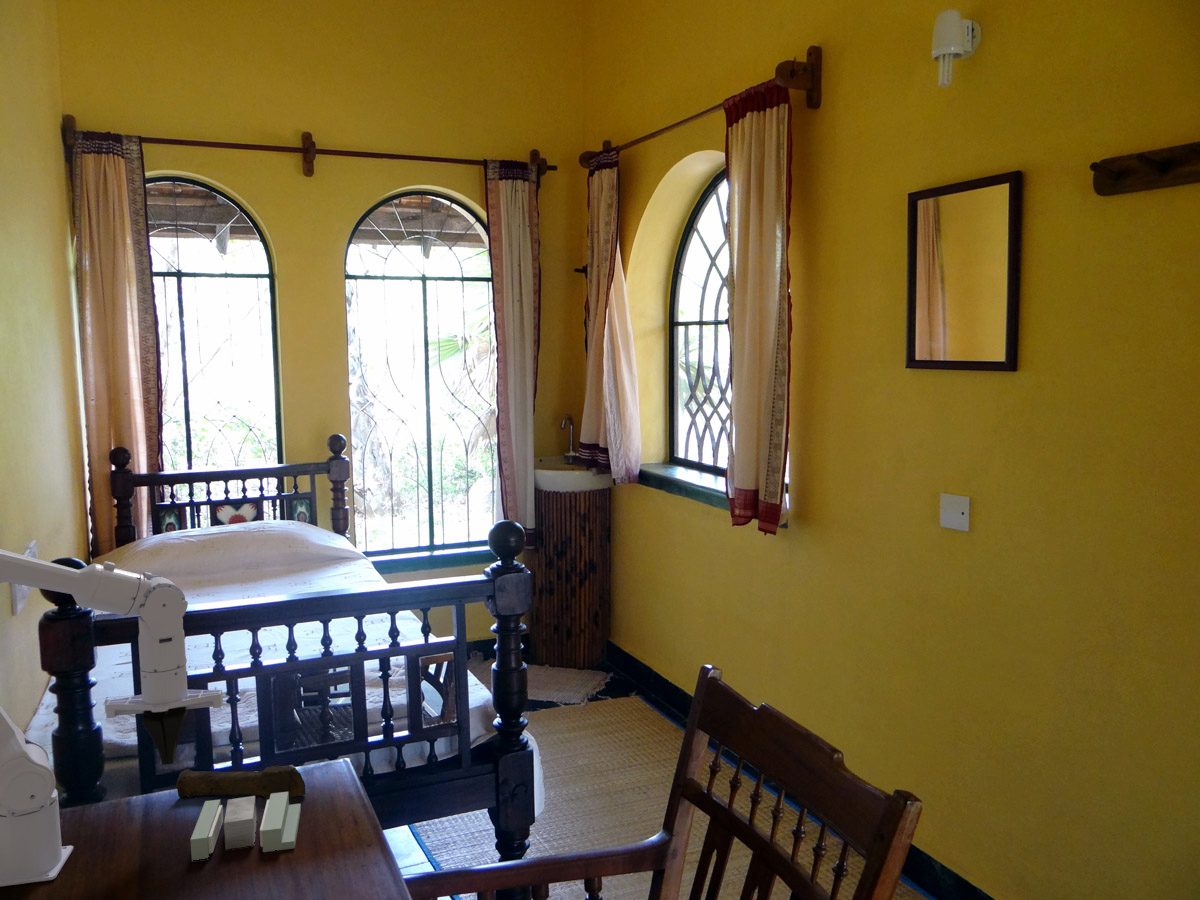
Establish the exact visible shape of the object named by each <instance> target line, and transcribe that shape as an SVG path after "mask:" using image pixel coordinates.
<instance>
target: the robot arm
mask: <svg viewBox="0 0 1200 900" xmlns="http://www.w3.org/2000/svg"><path fill="white" fill-rule="evenodd" d="M116 566H117V564H116V563H114V562H112V561H111V562H110V561H107V560H105V561H103V564H99V563H92V564H89V565H87V566H85V567H83V568H80V569H76V568H73V567H70V566H69V567H68V566H66V565H61V564H58V563H54V562H52V561H51V562H50V561H46V560H42V559H40V558H35V557H32V556H28V555H23V554H20V553H17V552H13V551H9V550H5V549H1V548H0V584H1V583H9V584H14V585H19V586H25V587H30V588H36V589H42V590H46V591H47V590H48V591H53V592H59V593H64V594H70V595H71V596H72V597H73V599H74V601H75V603H76V604H77V606H78V607H81V608H86V609H91V610H95V611H99V612H104V613H110V614H115V615H119V616H125V617H134V616H138V617H137V619H138V631H139V633H138V637H137V639H138V654H139V668H140V669H139V671H140V672H139V673H140V689H141V694H137V695H132V696H127V697H123V698H115V699H108V701H107V703H106V704H105V713H106V714H105V715H106V719H113V718H114V719H115V718H116V717H117V716H118V717H119V716H126V715H137V714H143V717H142V721H141V722H142V723H141V725H142V726H143V728H144V729H145V731H147V733H148V734H149V735H150V738H151V739H152V741H153V742H154V745H155V746H156V748H157V751H158V754H159V757H160V760H161V765H162V766H163V765H173V764H174V763H175V760H176V758H177V749H178V742H179V739H180V736H181V731H182V728H183V725H184V722H185V720H186V716H187V714H188V712H189V710H190V709H191V710H192V709H202V708H211V707H212V708H213V709H217V708H218V709H220V708H222V706H223V704H224V698H223V697H224V695H223V689H188V678H187V675H188V674H187V658H186V657H187V656H186V638H185V630H184V619H183V617H184V616H185V614H186V612H187V610H188V607H189V606H188V604H189V602H188V601H187V599H186V596H185V594H184V592H183V590H182V589H181V588H179V587H178V586H177V584H175V583H174V582H173V581H171V580H170V579H168V578H165V577H162V575H160V574H153V573H152V572H147V571H144V572H143V573H136V572H133V571H129V570H128V571H127V570H124V569H120V568H116ZM49 760H50V759H49V754H48V752H47V749H45V747H44V746H43V745H42V744H40V743H39V742H36V741H33V740H31V739H30V738H28V737H27V736H26V735H25V734H24V732H23V731H22V730H21V728H20V727H18V726H17V725H16V724H14V722H13V721H12V719H11V718H10V717H9V715H8V714H7V712H6V711H5V709H4V708H3V707H2V706H1V704H0V887H8V886H14V885H16V886H17V885H21V884H30V883H39V882H46V881H52V880H55V879H56V878H57V877H58V875H59V873H60V872H61V870H62V868H63V866H64V865H65V863H66V862H67V860H68V858H69V857H70V855H71V854H72V852H73V851H74V846H73V845H66V846H65V845H63V846H62V834H61V833H62V832H61V821H60V820H61V819H60V809H59V808H60V805H59V795H58V794H59V791H58V790H57V789H56V777H55V774H54V772H53V770H52V768H51V765H50V761H49Z"/></svg>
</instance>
